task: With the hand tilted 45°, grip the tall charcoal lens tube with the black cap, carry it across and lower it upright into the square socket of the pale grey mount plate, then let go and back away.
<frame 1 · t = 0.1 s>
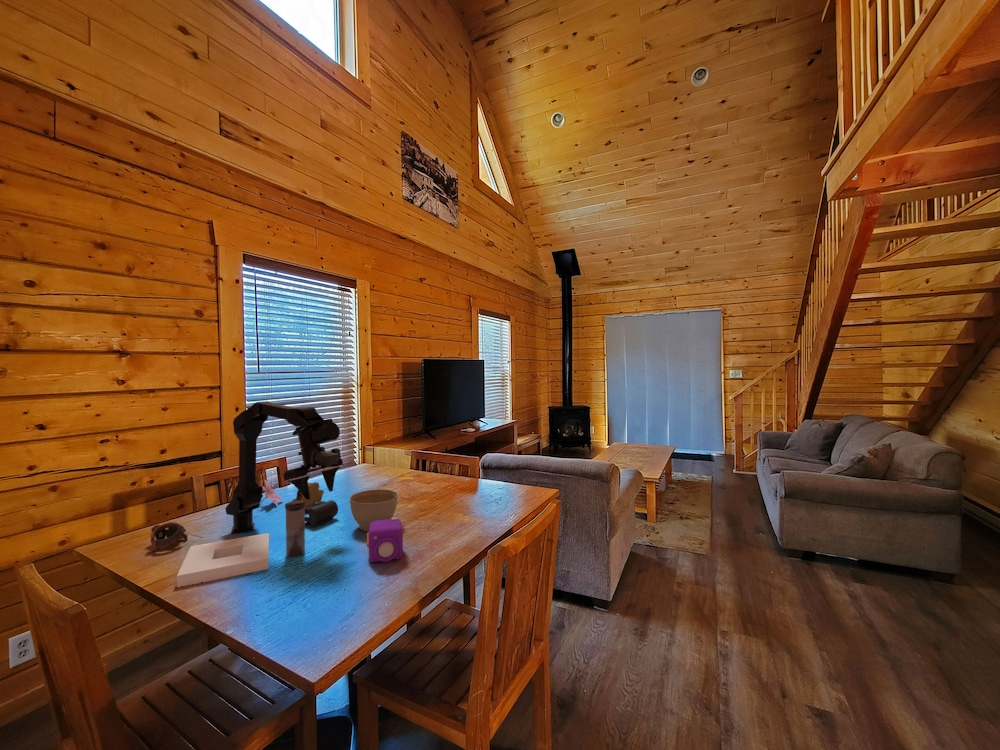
hand: (320, 495, 129), 15 cm above the table, tool pointing down, fingers open, 9 cm apart
lily: (270, 506, 166), on the table
lens tube: (295, 553, 122), on the table
wooden carving: (307, 508, 163), on the table
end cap: (320, 523, 147), on the table
brown hollow sculpture: (167, 546, 128), on the table
mount plate: (228, 562, 116), on the table
planter bowl: (374, 527, 143), on the table
toy camera: (386, 558, 119), on the table
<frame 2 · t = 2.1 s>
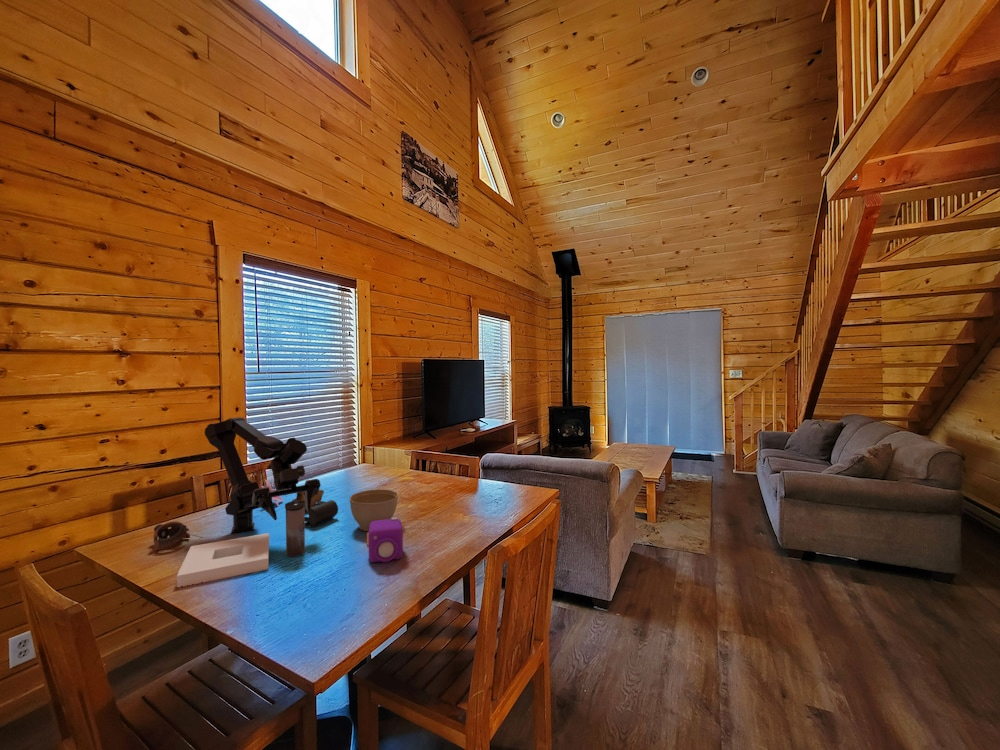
hand: (292, 515, 125), 10 cm above the table, tool tilted 45°, fingers open, 9 cm apart
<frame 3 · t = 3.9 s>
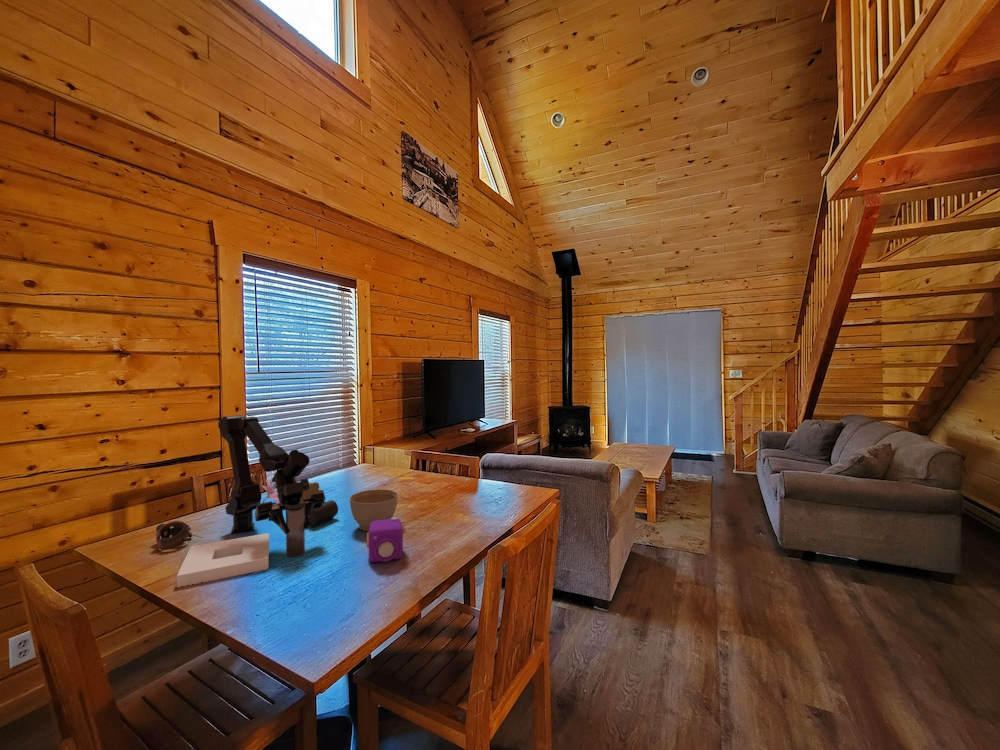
hand: (296, 531, 121), 7 cm above the table, tool tilted 45°, fingers closed on lens tube, 5 cm apart
lens tube: (295, 553, 122), on the table, touching gripper
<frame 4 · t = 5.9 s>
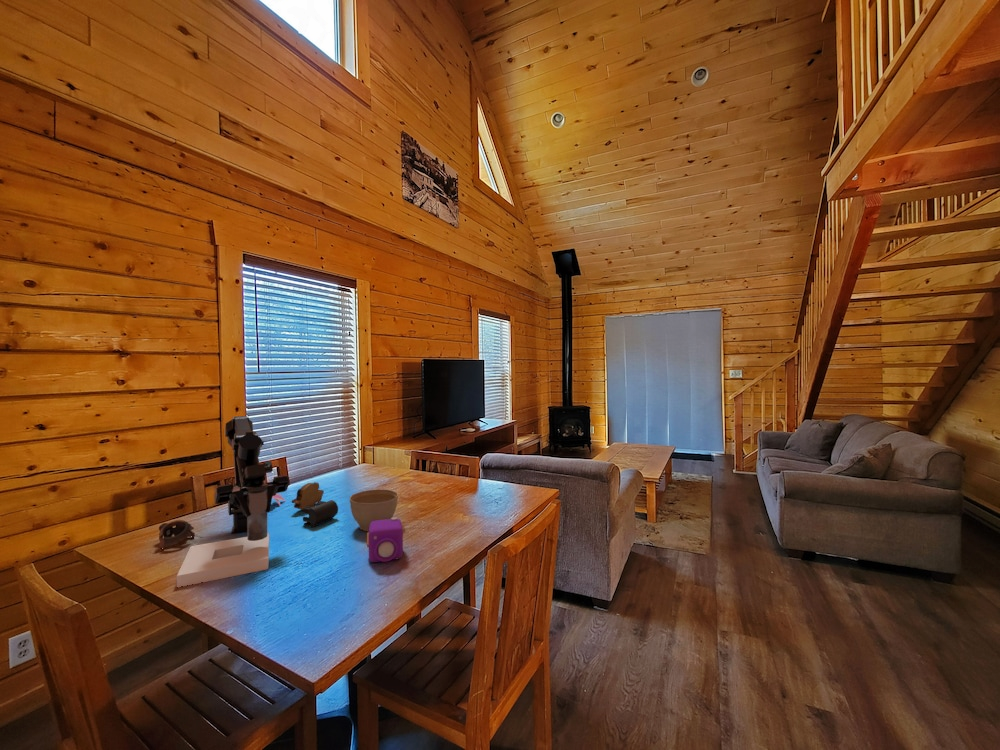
hand: (258, 514, 118), 13 cm above the table, tool tilted 45°, fingers closed on lens tube, 5 cm apart
lens tube: (257, 537, 119), point 6 cm above the table, touching gripper
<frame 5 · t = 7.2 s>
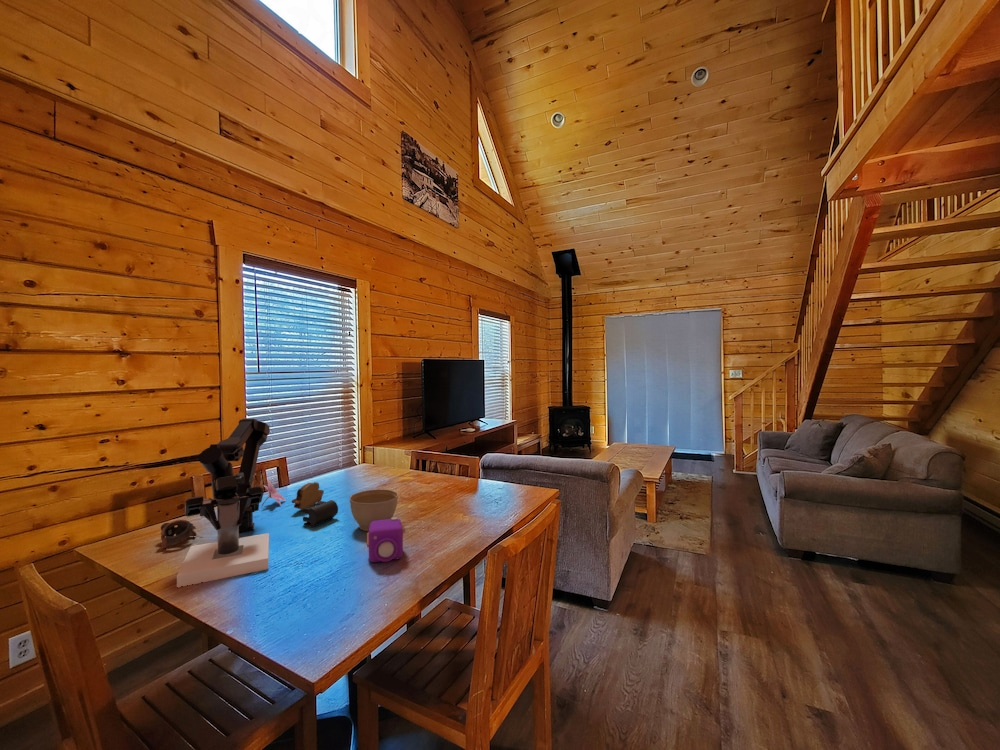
hand: (228, 527, 115), 10 cm above the table, tool tilted 45°, fingers closed on lens tube, 5 cm apart
lens tube: (228, 550, 117), point 3 cm above the table, touching gripper
when the fingers open (8 cm above the table, at t = 8.0 s): lens tube drops 1 cm, resting in mount plate.
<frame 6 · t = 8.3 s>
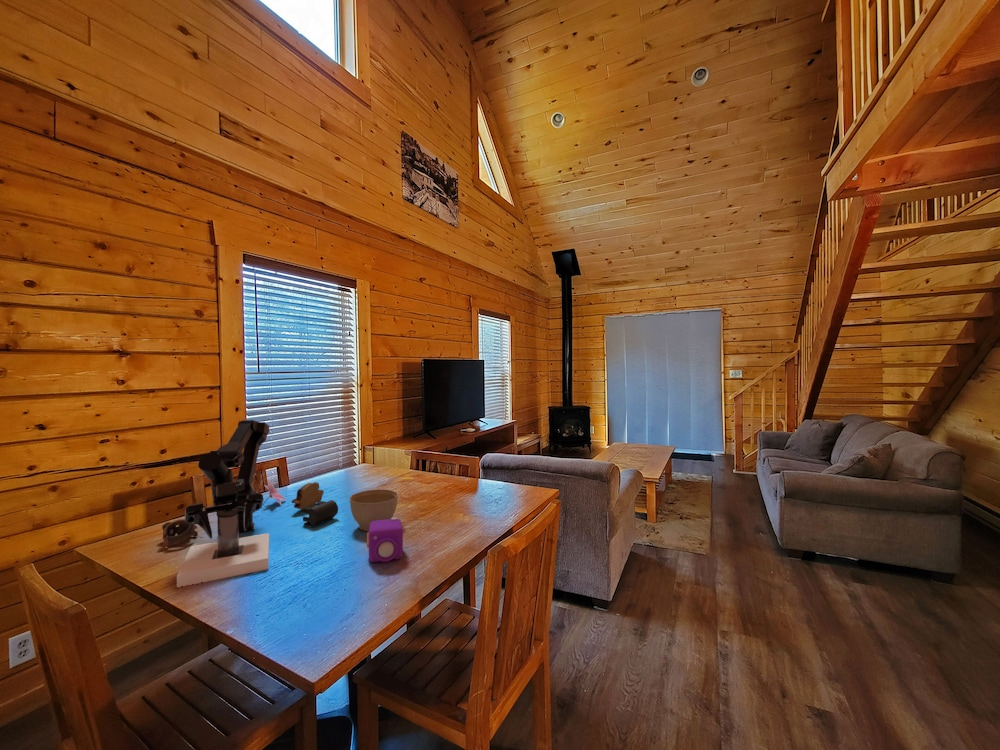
hand: (228, 533, 115), 9 cm above the table, tool tilted 45°, fingers open, 8 cm apart
lens tube: (228, 562, 117), resting in mount plate
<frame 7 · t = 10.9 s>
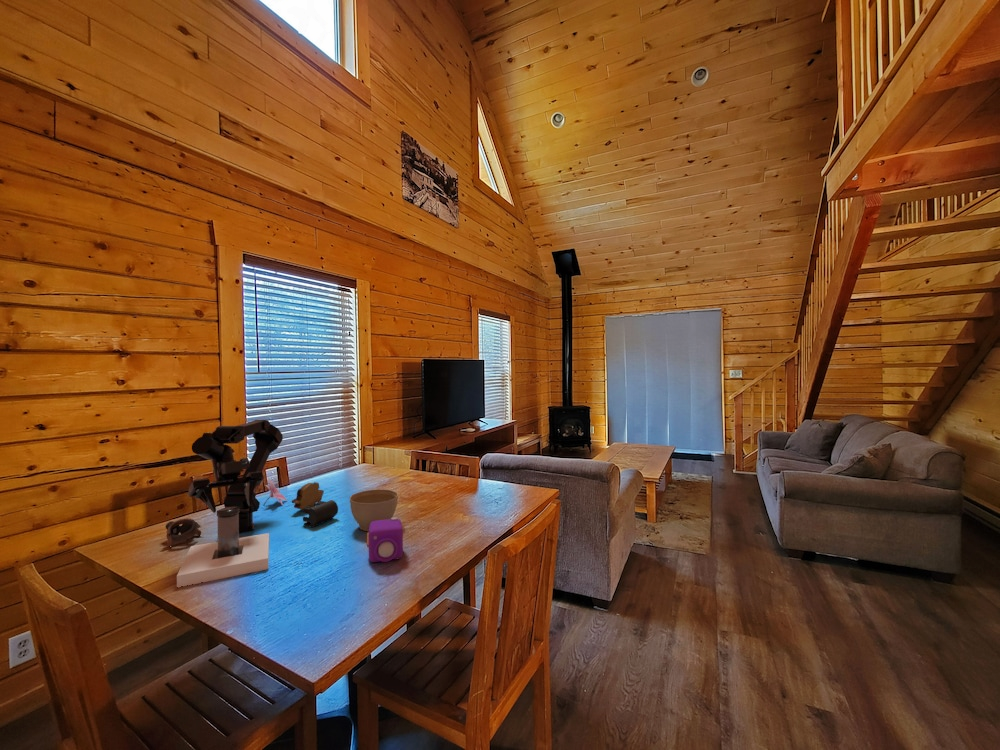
hand: (232, 508, 123), 13 cm above the table, tool tilted 40°, fingers open, 9 cm apart
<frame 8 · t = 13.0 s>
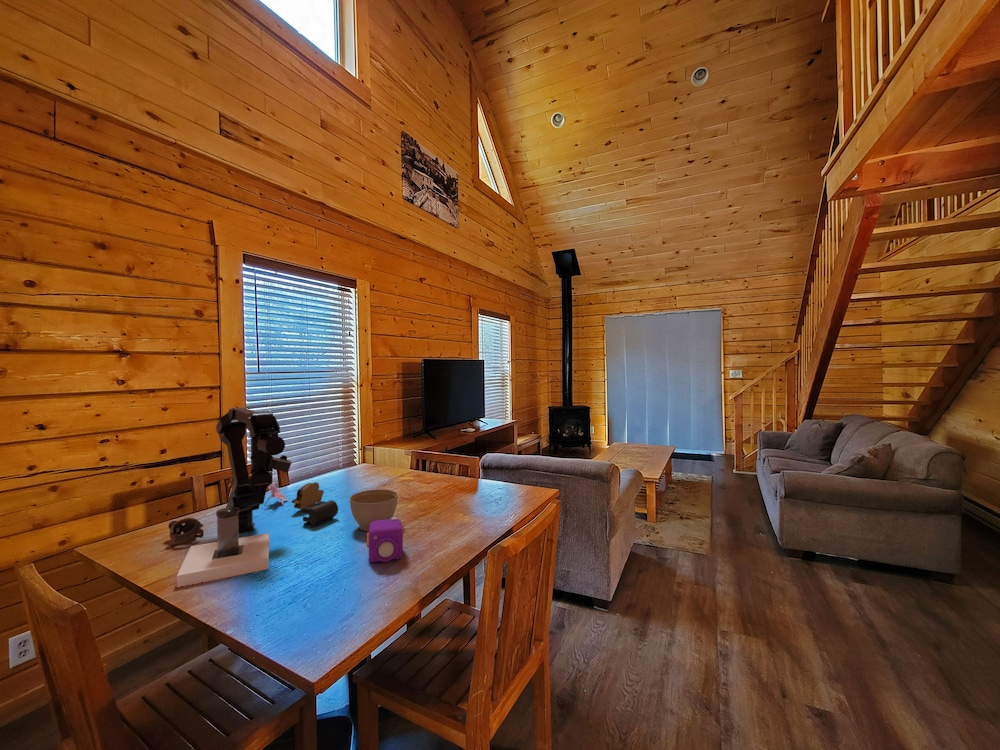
hand: (261, 499, 132), 13 cm above the table, tool pointing down, fingers open, 9 cm apart
at the end: lens tube 0.1 cm off-centre on the mount plate, point 0.0 cm above the mount plate's base; lens tube tilted 0°; the gripper is holding nothing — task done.
